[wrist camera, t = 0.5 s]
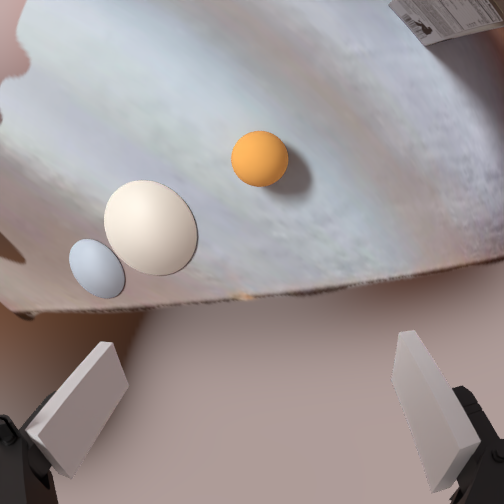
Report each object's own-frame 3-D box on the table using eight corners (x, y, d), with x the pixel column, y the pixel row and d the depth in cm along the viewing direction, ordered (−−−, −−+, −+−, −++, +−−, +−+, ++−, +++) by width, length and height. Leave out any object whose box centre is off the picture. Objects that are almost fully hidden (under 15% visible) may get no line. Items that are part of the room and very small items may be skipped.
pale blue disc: (93, 226, 38) (92, 227, 38) (137, 282, 41) (136, 282, 41) (60, 258, 41) (59, 258, 41) (99, 306, 45) (99, 306, 44)
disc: (153, 158, 33) (152, 159, 33) (218, 246, 37) (217, 247, 37) (89, 216, 37) (88, 216, 37) (146, 288, 42) (145, 289, 41)
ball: (270, 118, 30) (266, 122, 25) (298, 162, 31) (299, 174, 27) (226, 146, 31) (214, 155, 27) (254, 188, 33) (248, 204, 28)
